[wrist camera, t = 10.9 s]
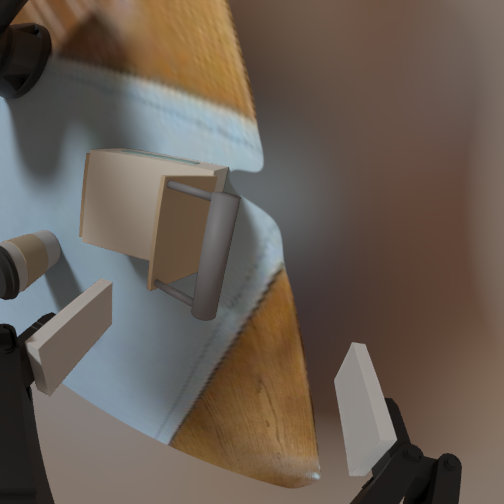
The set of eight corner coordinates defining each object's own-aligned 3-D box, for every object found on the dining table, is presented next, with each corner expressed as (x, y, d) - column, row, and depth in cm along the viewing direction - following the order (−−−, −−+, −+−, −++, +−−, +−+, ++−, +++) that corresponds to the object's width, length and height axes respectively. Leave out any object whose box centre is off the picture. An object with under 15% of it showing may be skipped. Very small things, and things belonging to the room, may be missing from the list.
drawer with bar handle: (158, 175, 25) (231, 197, 22) (213, 175, 32) (277, 193, 29) (144, 290, 29) (205, 325, 26) (196, 269, 36) (252, 295, 33)
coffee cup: (72, 262, 48) (17, 298, 34) (44, 277, 50) (-7, 311, 35) (51, 215, 46) (-9, 240, 31) (25, 234, 47) (-30, 260, 33)
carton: (120, 146, 41) (86, 148, 32) (228, 166, 41) (214, 169, 32) (110, 224, 45) (78, 240, 36) (211, 249, 45) (195, 273, 36)
